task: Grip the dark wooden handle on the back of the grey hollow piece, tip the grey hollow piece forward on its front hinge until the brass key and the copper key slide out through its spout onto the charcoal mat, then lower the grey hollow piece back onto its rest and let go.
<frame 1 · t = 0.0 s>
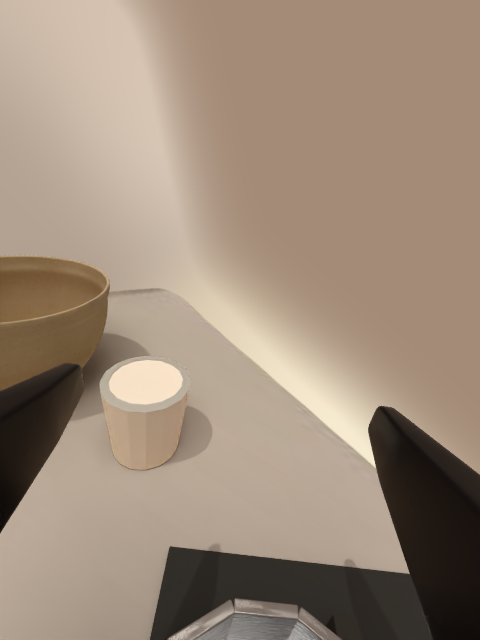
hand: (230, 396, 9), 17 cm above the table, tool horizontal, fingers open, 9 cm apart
planter bowl: (30, 379, 31), on the table
white tapered cylinder: (146, 443, 27), on the table
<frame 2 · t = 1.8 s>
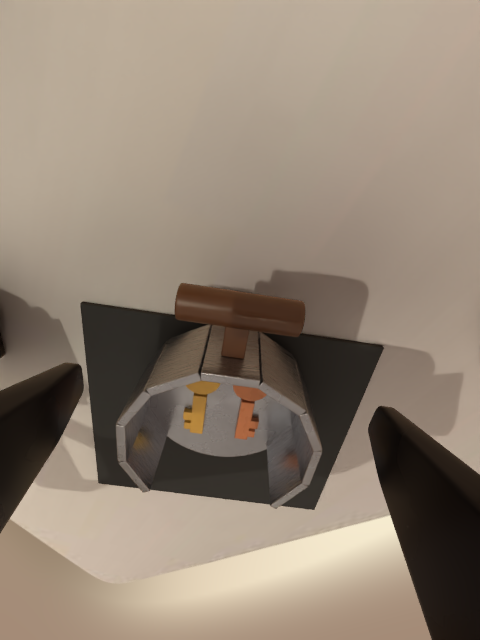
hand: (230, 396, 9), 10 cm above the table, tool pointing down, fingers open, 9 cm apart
brass key: (200, 398, 20), point 2 cm above the table, touching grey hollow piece
copper key: (247, 404, 20), point 2 cm above the table, touching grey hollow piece
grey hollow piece: (224, 401, 18), point 4 cm above the table, hinge at 0.0°, touching brass key, copper key
mat: (219, 423, 24), on the table
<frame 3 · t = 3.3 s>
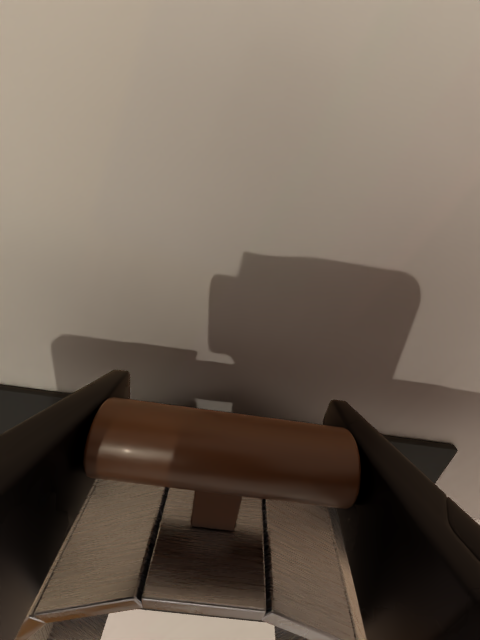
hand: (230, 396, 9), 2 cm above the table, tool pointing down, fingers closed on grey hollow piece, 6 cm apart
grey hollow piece: (203, 562, 10), point 4 cm above the table, hinge at 0.0°, touching brass key, copper key, gripper
mat: (203, 535, 16), on the table
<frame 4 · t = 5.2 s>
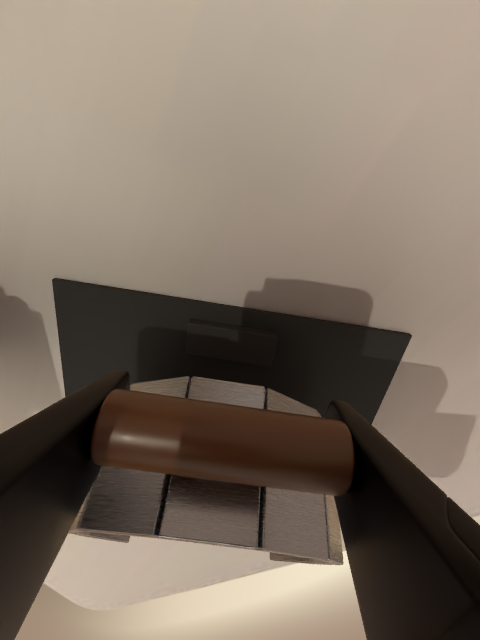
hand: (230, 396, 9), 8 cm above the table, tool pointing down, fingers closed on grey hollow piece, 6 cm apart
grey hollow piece: (213, 474, 13), point 7 cm above the table, hinge at 25.7°, touching brass key, gripper
mat: (216, 426, 20), on the table
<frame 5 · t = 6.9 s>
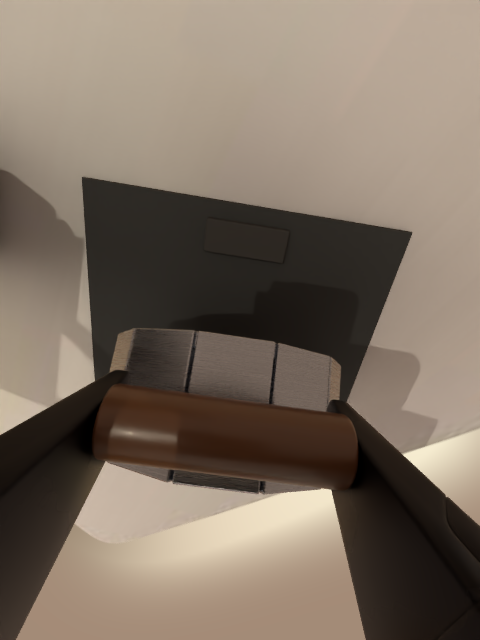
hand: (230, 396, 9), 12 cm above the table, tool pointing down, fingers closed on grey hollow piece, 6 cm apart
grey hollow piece: (224, 402, 14), point 9 cm above the table, hinge at 51.8°, touching brass key, gripper
mat: (230, 334, 22), on the table
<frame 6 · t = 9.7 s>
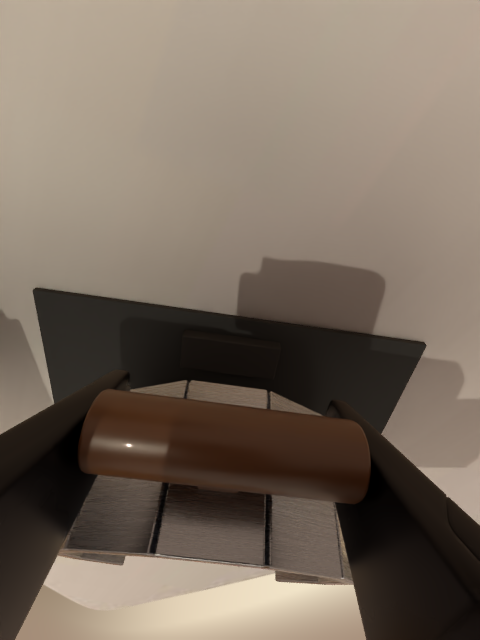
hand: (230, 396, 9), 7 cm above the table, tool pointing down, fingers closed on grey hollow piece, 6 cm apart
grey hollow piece: (213, 487, 12), point 6 cm above the table, hinge at 20.4°, touching brass key, gripper
mat: (216, 438, 19), on the table
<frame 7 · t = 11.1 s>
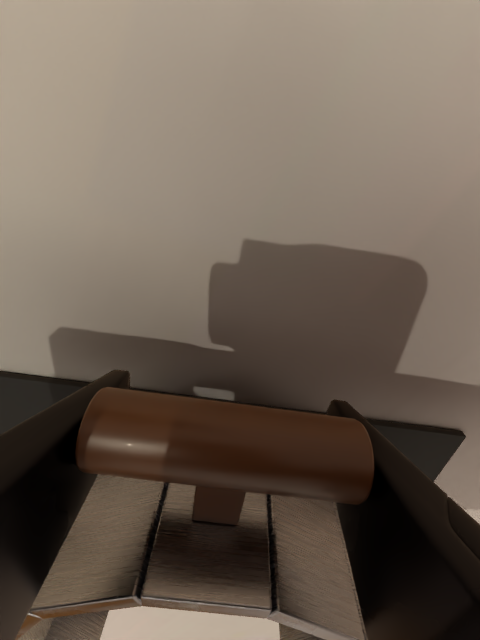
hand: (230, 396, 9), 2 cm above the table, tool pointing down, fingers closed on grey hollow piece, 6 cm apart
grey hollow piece: (206, 552, 10), point 4 cm above the table, hinge at 0.9°, touching brass key, gripper
mat: (206, 522, 16), on the table
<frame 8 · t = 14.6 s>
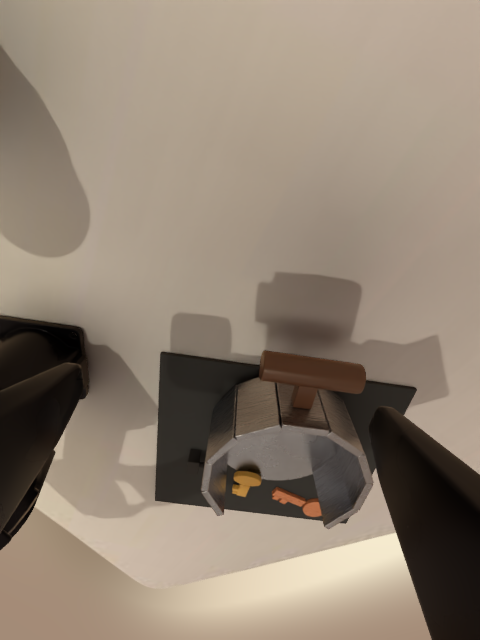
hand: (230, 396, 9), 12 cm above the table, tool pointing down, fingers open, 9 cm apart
brass key: (245, 482, 27), point 1 cm above the table, tilted 20°, touching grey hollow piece, mat
copper key: (298, 499, 30), resting on mat
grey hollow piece: (286, 439, 21), point 4 cm above the table, hinge at 0.0°, touching brass key
mat: (268, 450, 27), on the table
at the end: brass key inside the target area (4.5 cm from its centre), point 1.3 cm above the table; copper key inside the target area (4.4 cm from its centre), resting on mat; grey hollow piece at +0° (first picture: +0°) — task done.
